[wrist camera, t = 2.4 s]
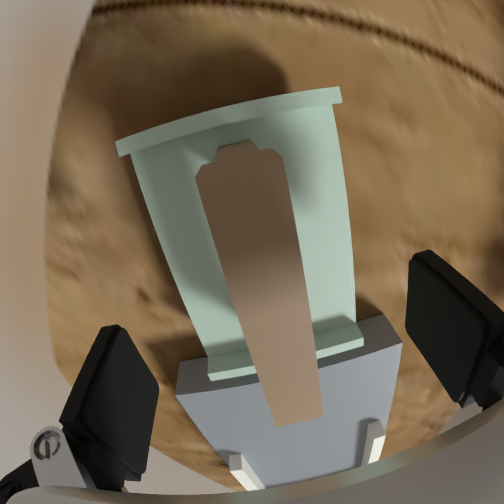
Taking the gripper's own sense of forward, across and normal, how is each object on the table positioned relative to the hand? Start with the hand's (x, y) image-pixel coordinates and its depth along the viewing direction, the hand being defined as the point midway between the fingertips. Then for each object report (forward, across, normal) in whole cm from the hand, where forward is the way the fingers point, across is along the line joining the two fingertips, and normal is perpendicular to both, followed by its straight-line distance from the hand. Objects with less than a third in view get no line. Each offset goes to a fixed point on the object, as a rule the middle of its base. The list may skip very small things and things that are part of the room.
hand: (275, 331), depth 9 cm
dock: (+8, 0, +18) cm, 20 cm away
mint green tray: (+7, 0, -1) cm, 7 cm away
